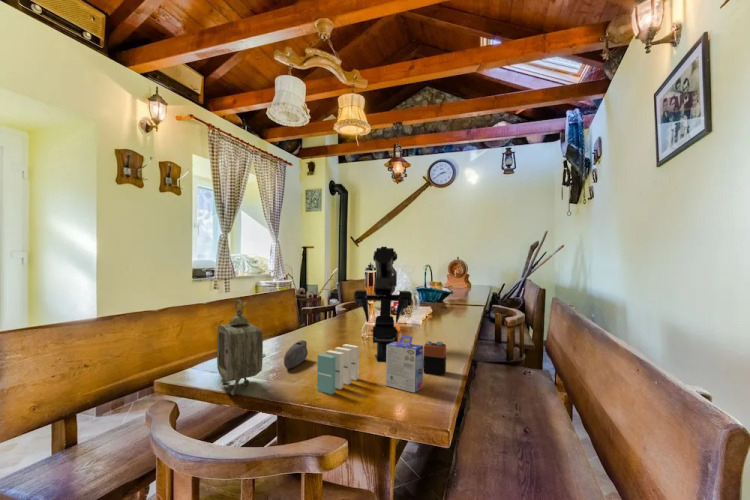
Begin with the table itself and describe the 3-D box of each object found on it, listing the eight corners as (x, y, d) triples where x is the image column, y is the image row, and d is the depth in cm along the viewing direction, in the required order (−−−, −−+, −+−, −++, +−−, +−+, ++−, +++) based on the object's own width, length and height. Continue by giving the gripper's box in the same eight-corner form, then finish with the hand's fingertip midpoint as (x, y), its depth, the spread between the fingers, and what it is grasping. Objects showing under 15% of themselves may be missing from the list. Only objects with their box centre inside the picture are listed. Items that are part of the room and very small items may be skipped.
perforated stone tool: (292, 373, 107) (292, 351, 107) (277, 371, 108) (277, 350, 108) (310, 358, 122) (311, 339, 122) (297, 357, 123) (297, 339, 123)
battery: (444, 376, 105) (444, 344, 106) (423, 373, 108) (423, 342, 108) (446, 371, 110) (446, 341, 110) (425, 369, 112) (425, 339, 112)
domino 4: (345, 375, 105) (345, 343, 105) (358, 378, 102) (358, 346, 103) (342, 377, 103) (342, 345, 104) (355, 380, 101) (355, 347, 101)
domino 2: (329, 383, 98) (330, 350, 98) (343, 387, 96) (343, 352, 96) (326, 385, 97) (326, 351, 97) (339, 389, 94) (340, 354, 94)
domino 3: (337, 379, 101) (338, 346, 102) (351, 382, 99) (351, 349, 99) (334, 381, 100) (334, 348, 100) (347, 384, 97) (348, 350, 98)
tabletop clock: (216, 382, 98) (217, 298, 99) (247, 376, 104) (249, 296, 104) (228, 399, 87) (230, 304, 87) (263, 391, 92) (264, 301, 93)
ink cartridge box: (424, 387, 96) (424, 337, 96) (415, 393, 92) (416, 341, 92) (394, 380, 102) (394, 332, 102) (385, 386, 97) (385, 336, 97)
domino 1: (321, 388, 95) (321, 353, 95) (335, 392, 92) (335, 356, 92) (317, 390, 93) (317, 355, 93) (331, 394, 91) (331, 357, 91)
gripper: (354, 266, 108) (349, 310, 99) (412, 267, 106) (412, 312, 97) (358, 283, 117) (353, 325, 108) (411, 284, 115) (411, 326, 106)
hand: (381, 322), depth 105 cm, fingers open, 9 cm apart
